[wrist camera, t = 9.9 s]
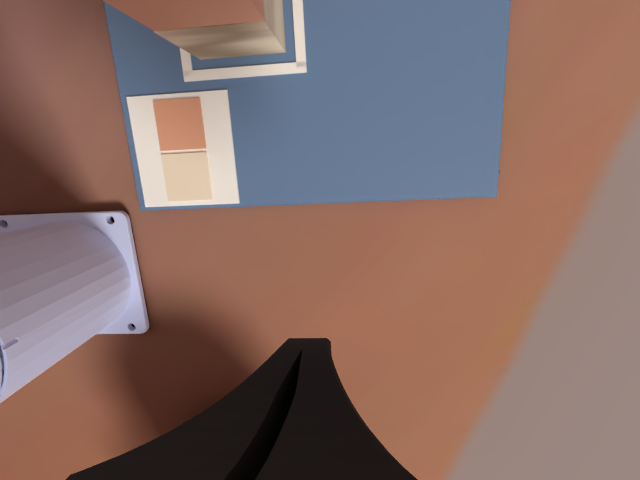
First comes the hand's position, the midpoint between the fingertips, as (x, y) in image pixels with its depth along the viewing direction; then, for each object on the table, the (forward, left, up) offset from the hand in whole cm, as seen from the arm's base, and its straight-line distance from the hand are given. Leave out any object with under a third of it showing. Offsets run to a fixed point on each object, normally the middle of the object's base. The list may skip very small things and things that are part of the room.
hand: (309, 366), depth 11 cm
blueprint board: (-1, +11, -10) cm, 15 cm away
